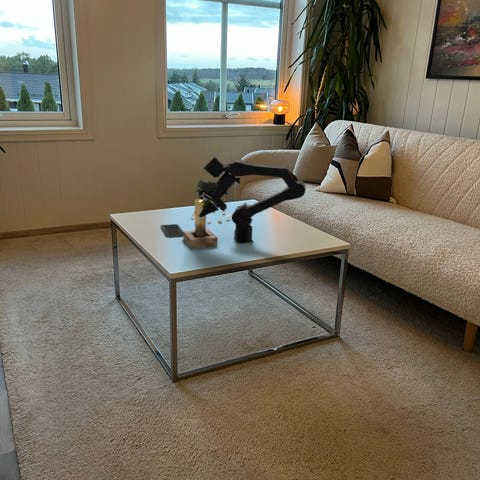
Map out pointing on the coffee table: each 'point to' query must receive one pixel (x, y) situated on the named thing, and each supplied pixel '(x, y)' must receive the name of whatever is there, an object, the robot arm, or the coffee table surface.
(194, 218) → the game piece set
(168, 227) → the phone
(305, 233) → the coffee table surface
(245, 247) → the coffee table surface
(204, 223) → the peg
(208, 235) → the socket block
